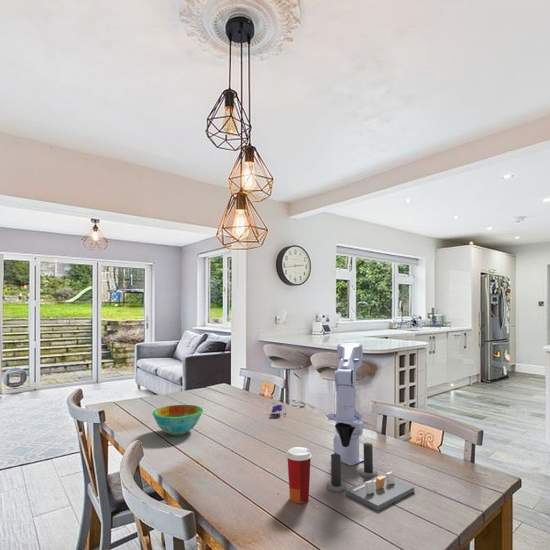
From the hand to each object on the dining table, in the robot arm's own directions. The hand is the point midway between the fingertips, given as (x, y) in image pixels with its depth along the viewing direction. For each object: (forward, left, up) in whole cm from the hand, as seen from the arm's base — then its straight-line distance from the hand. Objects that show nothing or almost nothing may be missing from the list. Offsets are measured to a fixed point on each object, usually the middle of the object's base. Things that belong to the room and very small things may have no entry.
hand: (345, 446), depth 132 cm
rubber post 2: (+3, +8, -10) cm, 14 cm away
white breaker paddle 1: (+14, -5, -9) cm, 17 cm away
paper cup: (+1, -22, -11) cm, 24 cm away
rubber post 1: (+3, -8, -10) cm, 13 cm away
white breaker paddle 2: (+14, +5, -9) cm, 17 cm away
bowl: (-78, -26, -11) cm, 83 cm away
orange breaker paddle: (+14, 0, -9) cm, 16 cm away
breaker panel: (+14, 0, -10) cm, 17 cm away
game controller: (-72, +28, -11) cm, 78 cm away
